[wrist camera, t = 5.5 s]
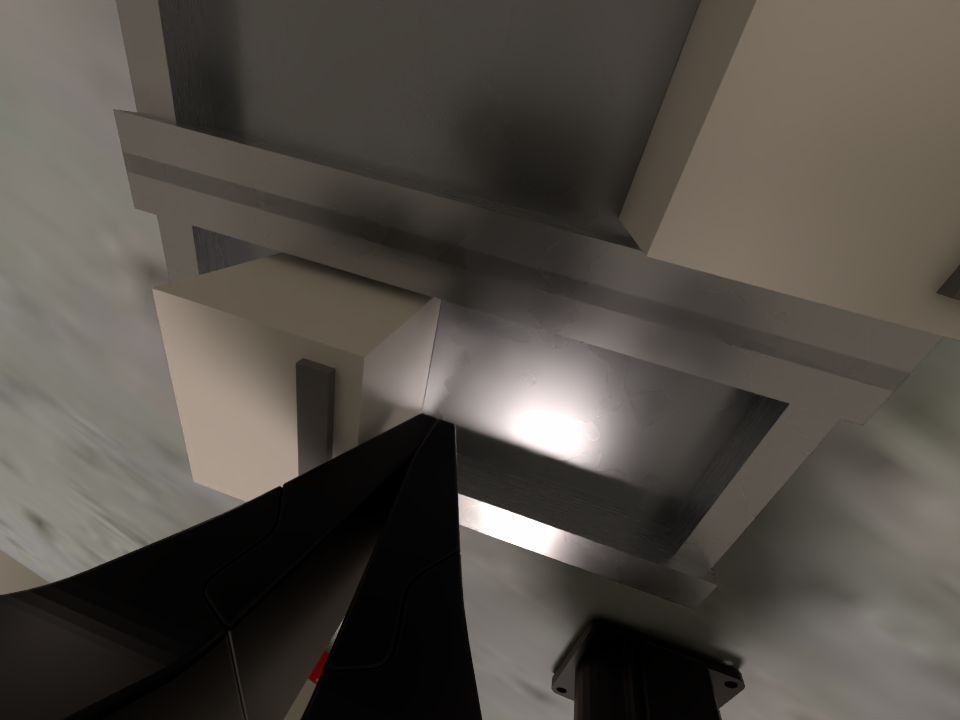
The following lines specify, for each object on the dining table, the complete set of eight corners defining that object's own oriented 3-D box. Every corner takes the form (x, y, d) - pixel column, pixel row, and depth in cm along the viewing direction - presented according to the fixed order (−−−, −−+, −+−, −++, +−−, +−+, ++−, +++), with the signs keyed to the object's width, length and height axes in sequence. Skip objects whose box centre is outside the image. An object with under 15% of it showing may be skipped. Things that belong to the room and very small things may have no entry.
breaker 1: (417, 433, 12) (345, 549, 8) (302, 394, 12) (185, 487, 9) (442, 289, 10) (357, 361, 6) (301, 247, 10) (139, 291, 6)
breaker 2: (816, 270, 8) (1036, 363, 4) (618, 218, 8) (649, 260, 4) (1039, -65, 5) (2073, -596, 2) (743, -114, 6) (1033, -619, 2)
